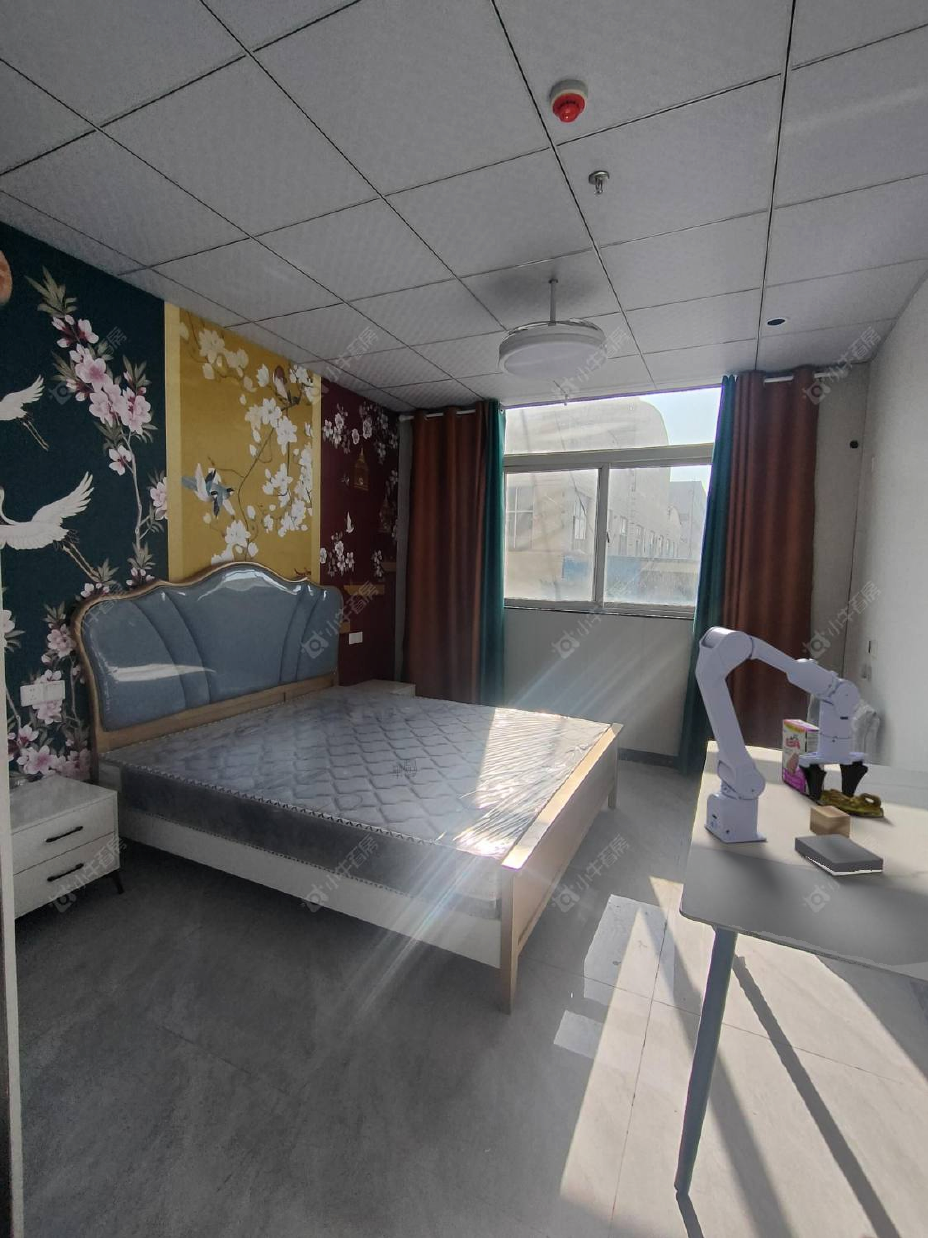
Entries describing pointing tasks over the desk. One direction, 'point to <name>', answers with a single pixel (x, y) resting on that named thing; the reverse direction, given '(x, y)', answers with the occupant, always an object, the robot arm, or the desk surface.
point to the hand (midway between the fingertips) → (831, 797)
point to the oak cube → (829, 821)
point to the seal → (852, 803)
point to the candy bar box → (797, 751)
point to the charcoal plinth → (838, 853)
